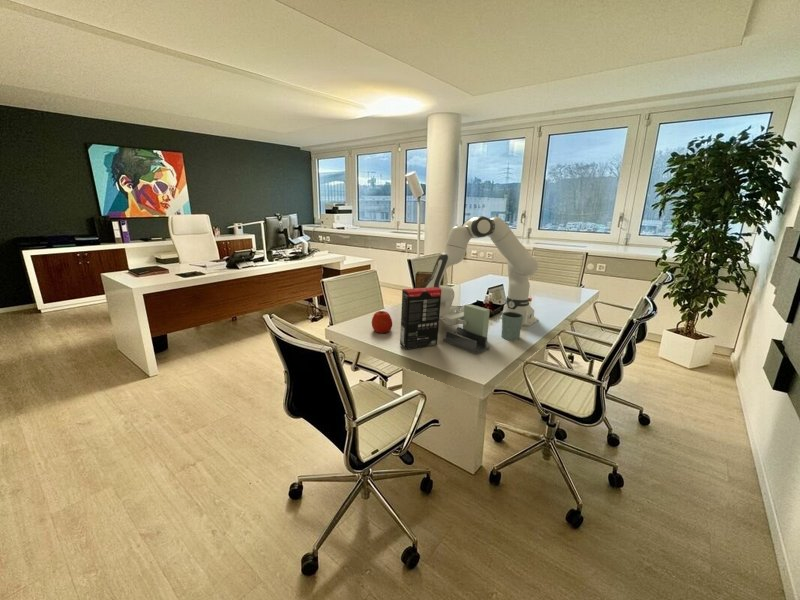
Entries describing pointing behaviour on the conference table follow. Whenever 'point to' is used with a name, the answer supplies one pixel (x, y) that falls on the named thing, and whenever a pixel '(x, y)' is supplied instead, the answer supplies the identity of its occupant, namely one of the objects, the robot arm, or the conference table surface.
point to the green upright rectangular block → (476, 319)
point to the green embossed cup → (511, 325)
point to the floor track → (467, 341)
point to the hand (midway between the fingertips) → (472, 321)
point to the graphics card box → (420, 317)
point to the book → (424, 279)
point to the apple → (382, 322)
